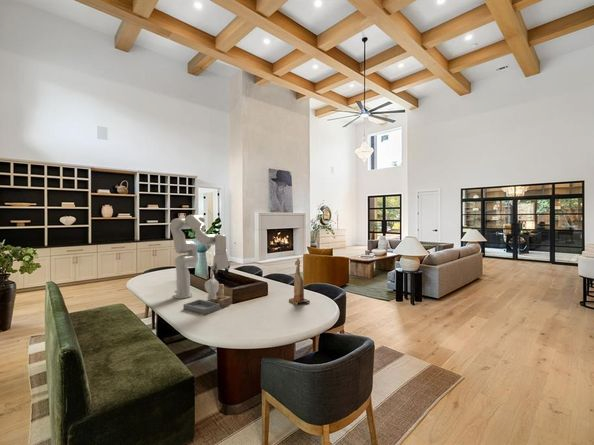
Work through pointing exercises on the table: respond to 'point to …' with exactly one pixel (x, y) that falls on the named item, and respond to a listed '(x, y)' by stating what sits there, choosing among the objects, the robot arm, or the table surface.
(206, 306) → the tray
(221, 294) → the dowel
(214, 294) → the shell sculpture
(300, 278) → the bird sculpture
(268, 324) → the table surface
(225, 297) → the holder block
